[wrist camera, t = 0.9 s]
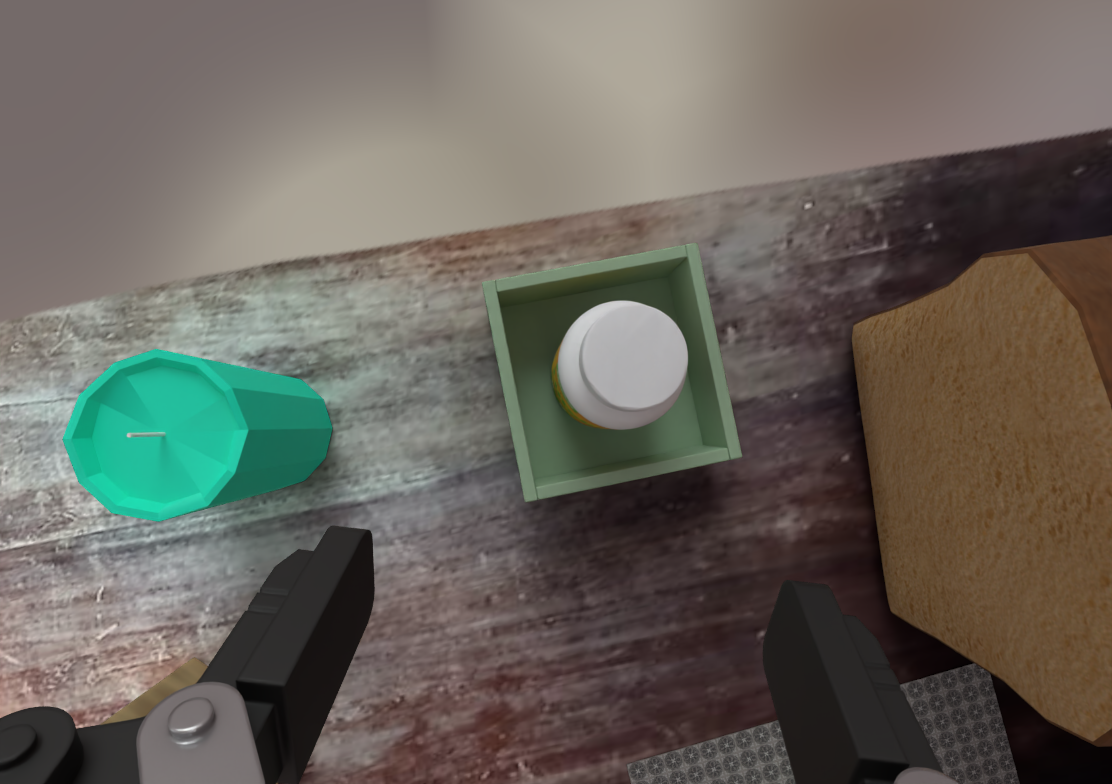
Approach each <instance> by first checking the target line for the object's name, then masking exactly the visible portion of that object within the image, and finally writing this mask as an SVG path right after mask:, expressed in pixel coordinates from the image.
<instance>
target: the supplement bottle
mask: <svg viewBox="0 0 1112 784" xmlns="http://www.w3.org/2000/svg"><path fill="white" fill-rule="evenodd" d="M687 366H688V350H687V345H686V341H685V339H684V336H683V334H682V332H681V330H680V329H679V327H678V326H677V325H676V323H675V322H674V321H673V320H672V319H671V318H670V317H669V316H667V315H666V314H665V313H663V312H661V311H660V310H658V309H656V308H653V307H650V306H647V305H644V304H641V303H638V302H633V301H611V302H607V303H603V304H600V305H598V306H595V307H593V308H592V309H590V310H588V311H587V312H585V313H584V314H583V315H581V316H580V317H579V318H578V319H577V320H576V321H575V322H574V323H573V324H572V326H571V327H570V328H569V330H568V331H567V333H566V335H565V336H564V338H563V340H562V342H561V344H560V346H559V347H558V349H557V351H556V354H555V356H554V359H553V363H552V368H551V384H552V389H553V392H554V395H555V397H556V399H557V401H558V403H559V405H560V406H561V407H562V409H563V410H564V411H565V412H566V413H567V414H568V415H569V416H570V417H571V418H573V419H574V420H576V421H577V422H579V423H581V424H584V425H586V426H589V427H594V428H600V429H615V430H625V429H633V428H638V427H642V426H645V425H648V424H650V423H652V422H654V421H655V420H657V419H659V418H660V417H661V416H663V415H664V414H665V413H666V412H667V411H668V410H669V409H670V408H671V407H672V406H673V404H674V403H675V402H676V400H677V399H678V397H679V395H680V393H681V391H682V388H683V386H684V382H685V378H686V373H687Z"/></svg>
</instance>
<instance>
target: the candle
mask: <svg viewBox="0 0 1112 784" xmlns="http://www.w3.org/2000/svg"><path fill="white" fill-rule="evenodd" d="M332 429H333V428H332V425H331V422H330V418H329V415H328V412H327V409H326V406H325V402H324V399H322V398H321V397H320V396H319V395H318V394H317V393H316V392H315V391H314V390H312V389H311V388H310V387H309V386H308V385H307V384H306V383H305V382H303V381H302V380H301V379H297V378H292V377H288V376H283V375H278V374H273V373H269V372H264V371H259V370H254V369H250V368H245V367H240V366H235V365H231V364H226V363H221V362H216V361H212V360H207V359H202V358H197V357H193V356H188V355H183V354H178V353H173V352H169V351H164V350H159V349H154V350H151V351H148V352H145V353H142V354H139V355H136V356H133V357H130V358H127V359H124V360H121V361H118V362H115V363H113V364H112V365H111V366H110V367H109V368H108V369H107V370H106V371H105V372H104V373H103V374H102V375H101V376H99V377H98V378H97V379H96V380H95V381H94V382H93V383H92V384H91V385H90V386H89V387H88V388H87V389H85V390H84V391H83V392H82V393H81V394H80V395H79V397H78V400H77V402H76V405H75V408H74V410H73V413H72V416H71V418H70V421H69V423H68V426H67V429H66V431H65V434H64V437H63V439H62V440H63V442H64V445H65V448H66V450H67V453H68V455H69V458H70V461H71V463H72V466H73V469H74V471H75V474H76V476H77V479H78V482H79V483H80V484H81V485H82V486H83V487H84V488H85V489H86V490H87V491H89V492H90V493H91V494H92V495H93V496H94V497H95V498H96V499H97V500H98V501H99V502H100V503H101V504H103V505H104V506H105V507H106V508H107V509H108V510H109V511H110V512H111V513H115V514H120V515H125V516H131V517H136V518H142V519H147V520H152V521H158V522H159V521H163V520H167V519H170V518H174V517H178V516H181V515H185V514H189V513H193V512H196V511H200V510H204V509H208V508H211V507H215V506H219V505H223V504H226V503H230V502H234V501H238V500H241V499H245V498H249V497H253V496H256V495H260V494H264V493H267V492H271V491H275V490H278V489H281V488H284V487H287V486H290V485H293V484H296V483H300V482H303V481H305V480H306V479H307V478H308V477H309V476H310V474H311V473H312V472H313V471H314V470H315V469H316V468H317V467H318V466H319V465H320V464H321V463H322V462H323V460H324V459H325V458H326V455H327V450H328V446H329V442H330V437H331V433H332Z"/></svg>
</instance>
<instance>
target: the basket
mask: <svg viewBox="0 0 1112 784" xmlns="http://www.w3.org/2000/svg"><path fill="white" fill-rule="evenodd" d="M482 286H483V291H484V296H485V302H486V307H487V312H488V317H489V322H490V327H491V332H492V337H493V342H494V347H495V352H496V357H497V363H498V368H499V373H500V378H501V383H502V388H503V393H504V398H505V403H506V408H507V413H508V418H509V424H510V429H511V434H512V439H513V444H514V449H515V454H516V459H517V464H518V469H519V474H520V479H521V485H522V490H523V495H524V500H525V502H531V501H536V500H538V499H539V500H541V499H546V498H551V497H555V496H560V495H565V494H570V493H575V492H579V491H584V490H589V489H594V488H599V487H603V486H608V485H613V484H618V483H623V482H627V481H632V480H637V479H642V478H647V477H651V476H656V475H661V474H666V473H671V472H675V471H680V470H685V469H690V468H695V467H699V466H704V465H709V464H714V463H719V462H723V461H728V460H733V459H738V458H741V457H742V453H741V448H740V443H739V438H738V434H737V429H736V424H735V419H734V415H733V410H732V405H731V401H730V396H729V391H728V386H727V382H726V377H725V372H724V367H723V363H722V358H721V353H720V348H719V344H718V339H717V334H716V329H715V325H714V320H713V315H712V310H711V306H710V301H709V296H708V291H707V287H706V282H705V277H704V272H703V268H702V263H701V258H700V253H699V249H698V244H697V243H692V244H687V245H682V246H676V247H671V248H665V249H660V250H654V251H649V252H644V253H638V254H633V255H627V256H622V257H616V258H611V259H606V260H600V261H595V262H589V263H584V264H578V265H573V266H568V267H562V268H557V269H551V270H546V271H540V272H535V273H530V274H524V275H519V276H513V277H508V278H502V279H497V280H495V281H494V280H492V281H486V282H483V283H482ZM611 301H633V302H638V303H641V304H644V305H647V306H650V307H653V308H656V309H658V310H660V311H661V312H663V313H665V314H666V315H667V316H669V317H670V318H671V319H672V320H673V321H674V322H675V323H676V325H677V326H678V327H679V329H680V330H681V332H682V334H683V336H684V339H685V341H686V345H687V350H688V366H687V373H686V378H685V382H684V386H683V388H682V391H681V393H680V395H679V397H678V399H677V400H676V402H675V403H674V404H673V406H672V407H671V408H670V409H669V410H668V411H667V412H666V413H665V414H664V415H663V416H661V417H660V418H659V419H657V420H655V421H654V422H652V423H650V424H648V425H645V426H642V427H638V428H633V429H625V430H615V429H600V428H594V427H589V426H586V425H584V424H581V423H579V422H577V421H576V420H574V419H573V418H571V417H570V416H569V415H568V414H567V413H566V412H565V411H564V410H563V409H562V407H561V406H560V405H559V403H558V401H557V399H556V397H555V395H554V392H553V389H552V384H551V368H552V363H553V359H554V356H555V354H556V351H557V349H558V347H559V346H560V344H561V342H562V340H563V338H564V336H565V335H566V333H567V331H568V330H569V328H570V327H571V326H572V324H573V323H574V322H575V321H576V320H577V319H578V318H579V317H580V316H581V315H583V314H584V313H585V312H587V311H588V310H590V309H592V308H593V307H595V306H598V305H600V304H603V303H607V302H611Z"/></svg>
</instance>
